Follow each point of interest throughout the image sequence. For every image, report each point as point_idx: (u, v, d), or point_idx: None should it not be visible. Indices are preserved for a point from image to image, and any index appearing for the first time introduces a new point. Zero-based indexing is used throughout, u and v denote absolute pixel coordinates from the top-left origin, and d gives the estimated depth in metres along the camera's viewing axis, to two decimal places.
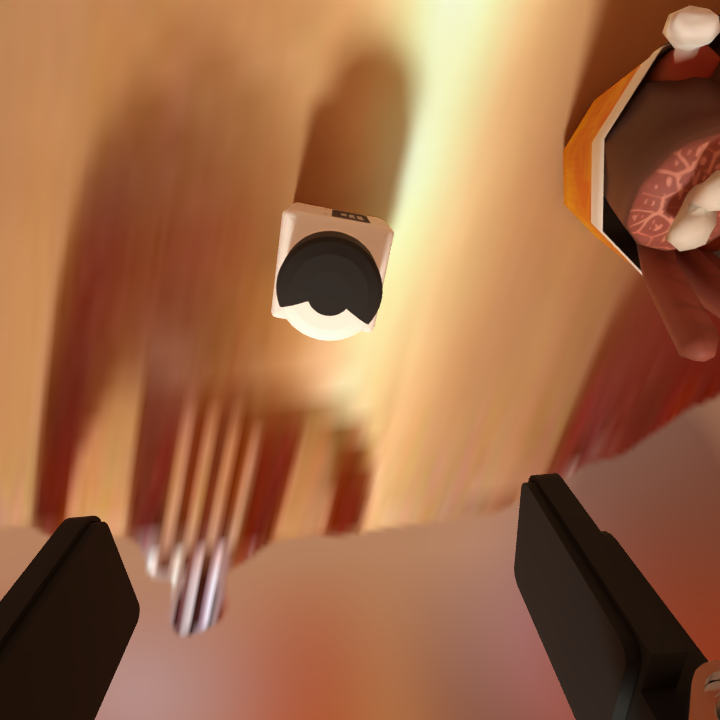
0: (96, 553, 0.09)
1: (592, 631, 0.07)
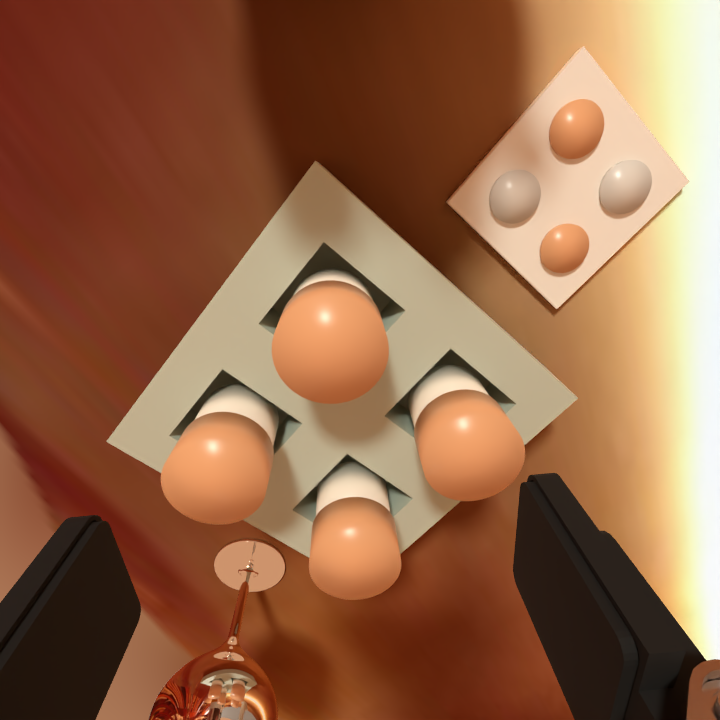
0: (97, 552, 0.09)
1: (590, 630, 0.07)
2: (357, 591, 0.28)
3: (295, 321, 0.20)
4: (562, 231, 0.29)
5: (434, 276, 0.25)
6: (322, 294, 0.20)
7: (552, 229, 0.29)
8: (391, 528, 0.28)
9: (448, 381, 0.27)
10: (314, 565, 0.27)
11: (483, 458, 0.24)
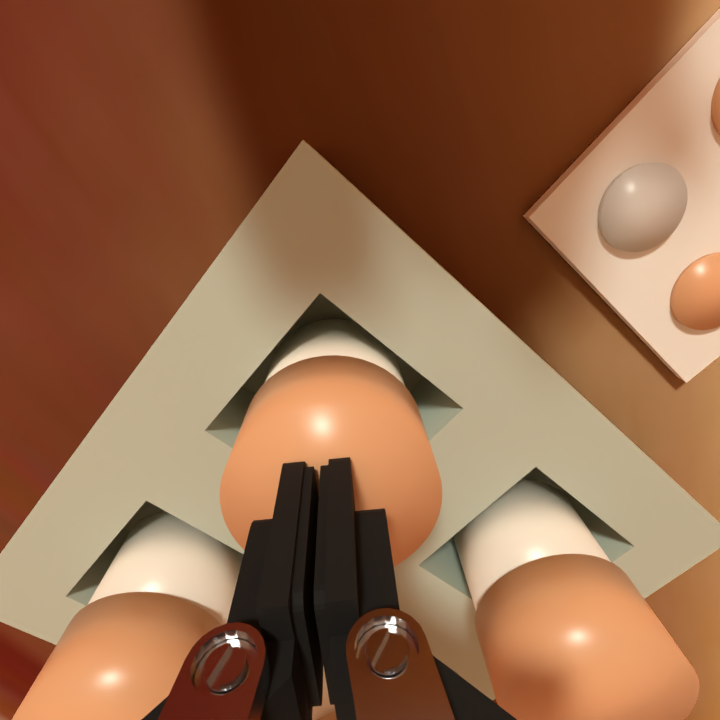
0: (314, 492, 0.10)
1: None
2: None
3: (263, 452, 0.10)
4: (714, 265, 0.18)
5: (518, 352, 0.14)
6: (316, 401, 0.10)
7: (695, 261, 0.18)
8: None
9: (532, 524, 0.16)
10: None
11: (618, 706, 0.13)
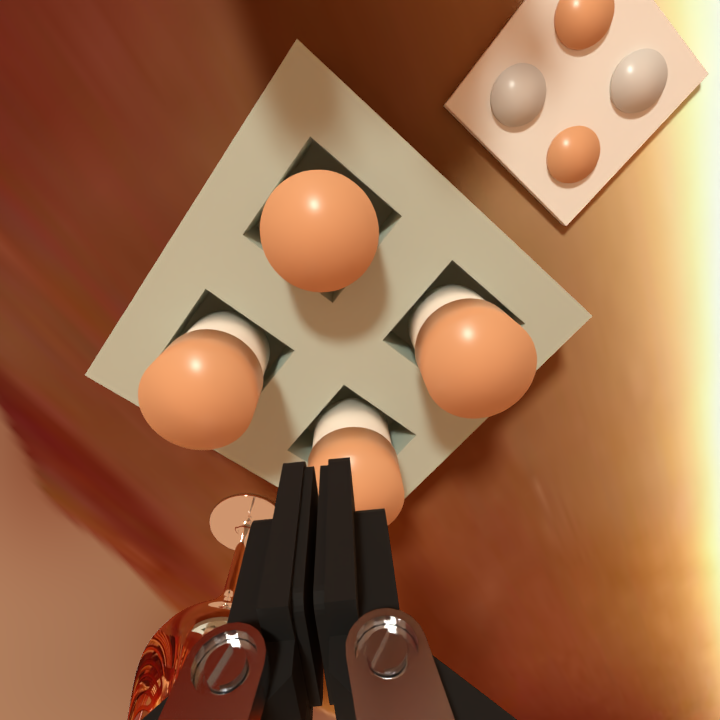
0: (314, 492, 0.10)
1: None
2: None
3: (282, 200, 0.20)
4: (570, 134, 0.27)
5: (432, 175, 0.23)
6: (309, 170, 0.20)
7: (559, 133, 0.27)
8: (393, 457, 0.25)
9: (451, 295, 0.25)
10: None
11: (490, 367, 0.22)
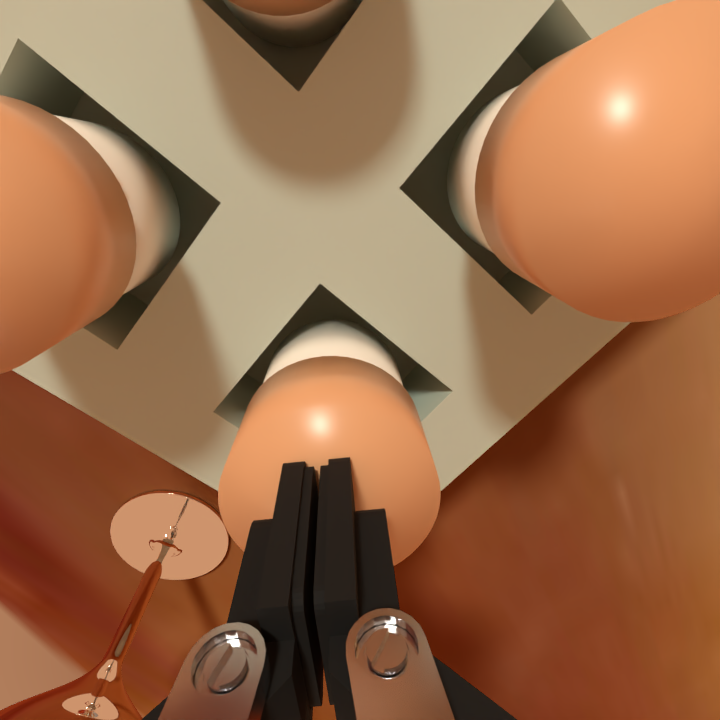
0: (314, 492, 0.10)
1: None
2: None
3: None
4: None
5: None
6: None
7: None
8: (415, 418, 0.12)
9: None
10: (231, 497, 0.11)
11: (695, 175, 0.08)
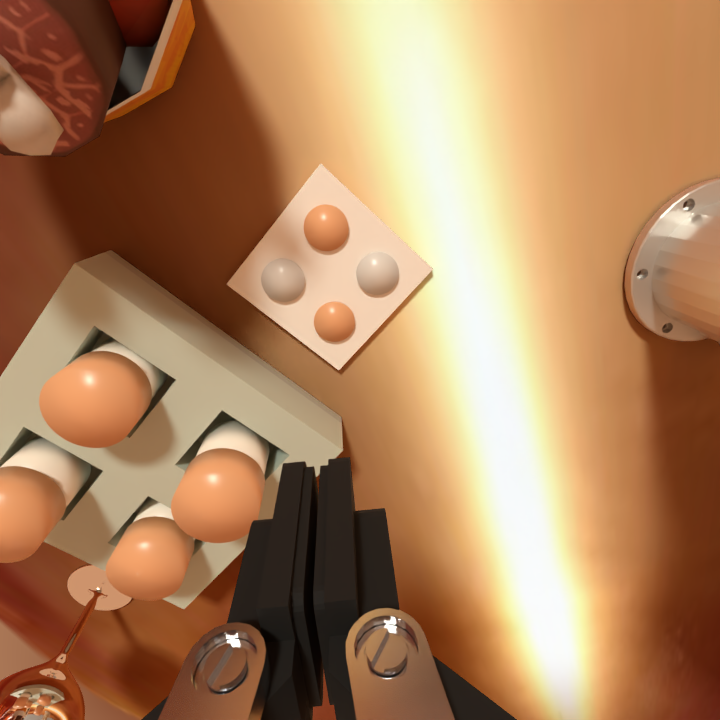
0: (314, 492, 0.10)
1: None
2: (151, 593, 0.34)
3: (54, 388, 0.27)
4: (329, 308, 0.34)
5: (195, 353, 0.30)
6: (73, 368, 0.27)
7: (321, 306, 0.34)
8: (179, 542, 0.34)
9: (219, 438, 0.32)
10: (110, 572, 0.33)
11: (223, 509, 0.29)
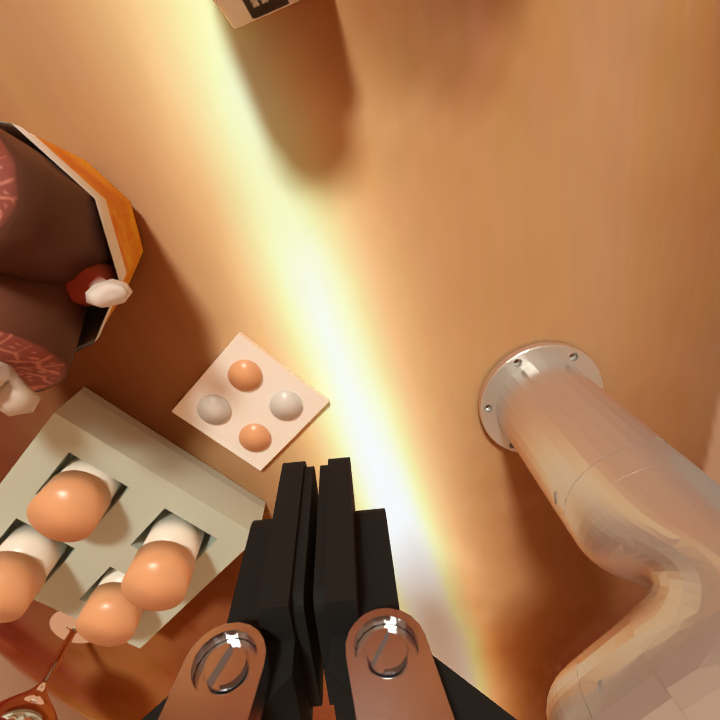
0: (314, 492, 0.10)
1: None
2: (110, 641, 0.45)
3: (37, 503, 0.38)
4: (249, 429, 0.45)
5: (143, 470, 0.41)
6: (51, 490, 0.37)
7: (244, 426, 0.45)
8: None
9: (161, 529, 0.43)
10: (78, 626, 0.44)
11: (159, 588, 0.40)
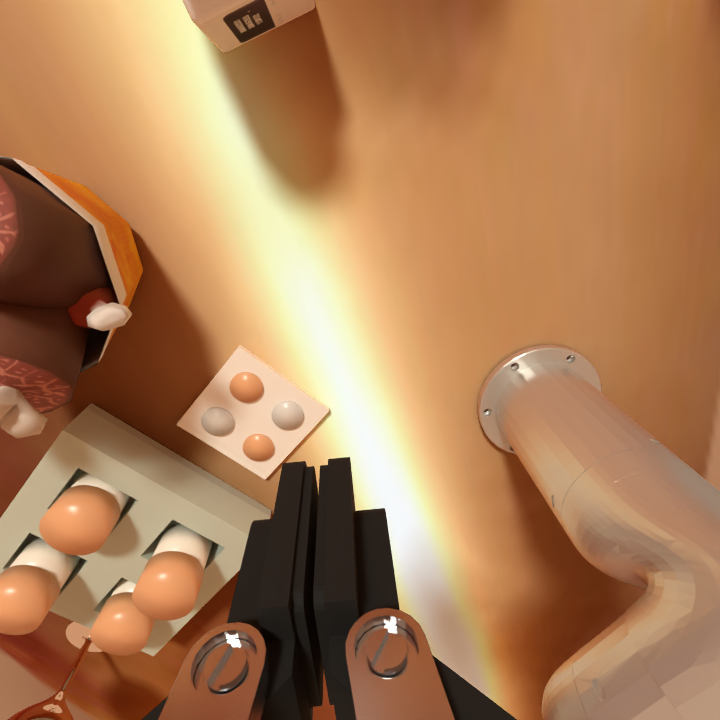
0: (314, 492, 0.10)
1: None
2: (124, 650, 0.46)
3: (49, 519, 0.39)
4: (253, 439, 0.45)
5: (151, 483, 0.42)
6: (62, 505, 0.39)
7: (247, 437, 0.46)
8: None
9: (170, 540, 0.44)
10: (93, 636, 0.45)
11: (169, 598, 0.41)
